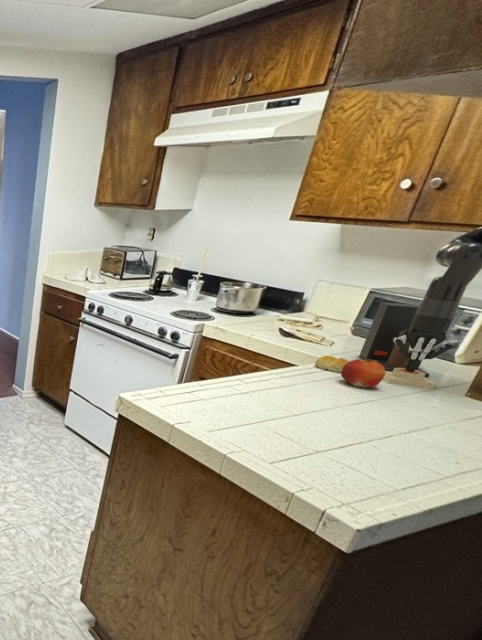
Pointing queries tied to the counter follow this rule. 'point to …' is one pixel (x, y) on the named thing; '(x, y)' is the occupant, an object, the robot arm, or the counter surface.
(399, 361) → the brown wooden block
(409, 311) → the dark grey orange-tab panel
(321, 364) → the bread roll
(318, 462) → the counter surface
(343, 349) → the counter surface
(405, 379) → the switch block
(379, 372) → the tomato
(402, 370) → the power button
